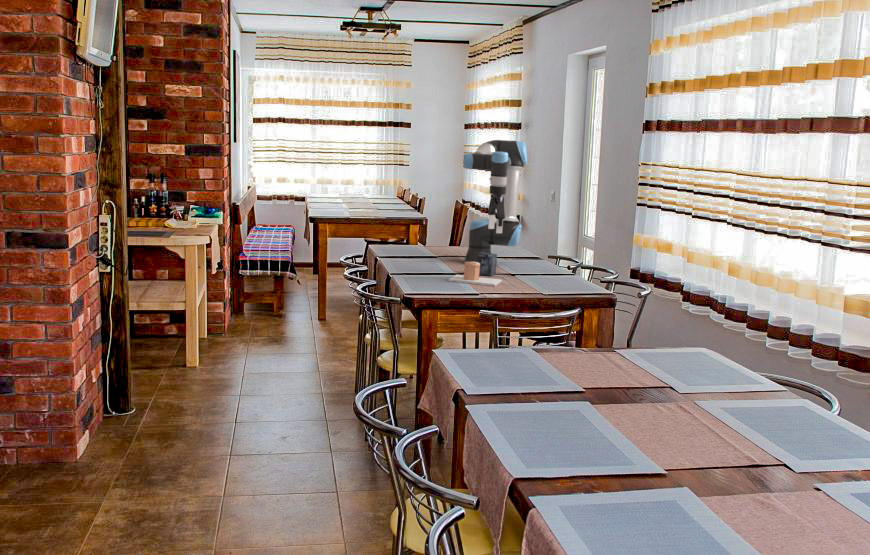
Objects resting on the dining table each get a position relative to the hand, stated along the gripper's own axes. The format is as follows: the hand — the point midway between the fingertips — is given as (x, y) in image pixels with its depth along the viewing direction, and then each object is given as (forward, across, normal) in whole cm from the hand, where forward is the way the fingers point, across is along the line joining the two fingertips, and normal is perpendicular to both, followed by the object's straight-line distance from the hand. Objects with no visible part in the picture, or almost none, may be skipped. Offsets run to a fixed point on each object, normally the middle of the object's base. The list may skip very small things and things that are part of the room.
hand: (495, 231), depth 395 cm
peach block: (+22, +3, -11) cm, 25 cm away
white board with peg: (+23, +4, -9) cm, 25 cm away
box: (+24, -13, +1) cm, 27 cm away
